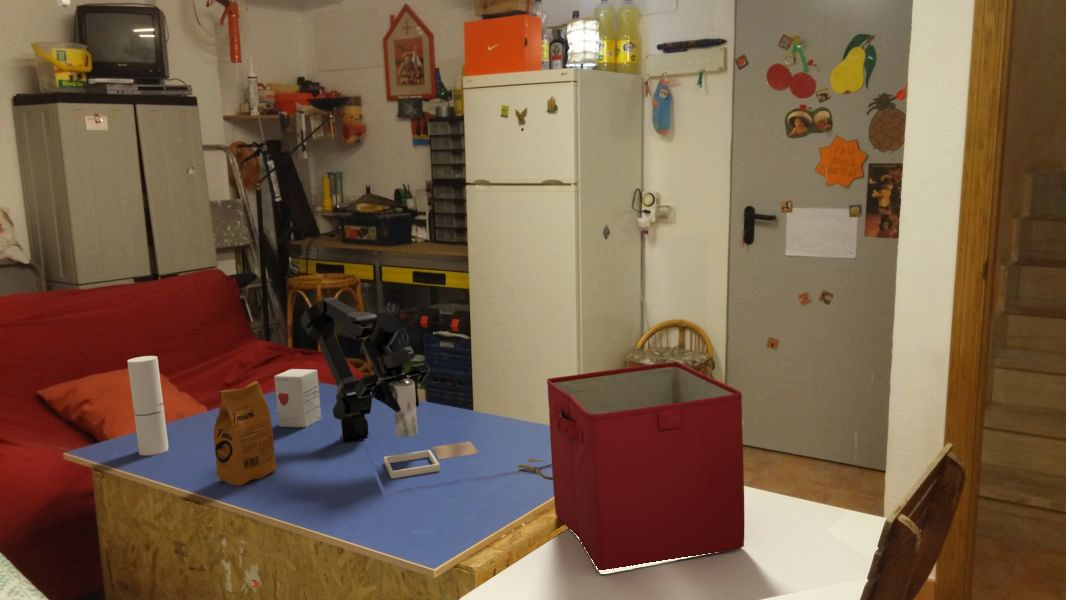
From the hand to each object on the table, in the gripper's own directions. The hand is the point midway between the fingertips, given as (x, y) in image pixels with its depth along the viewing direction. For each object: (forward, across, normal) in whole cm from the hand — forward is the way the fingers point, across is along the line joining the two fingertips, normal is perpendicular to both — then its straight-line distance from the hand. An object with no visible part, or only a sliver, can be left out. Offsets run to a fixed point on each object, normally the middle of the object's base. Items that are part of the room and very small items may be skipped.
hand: (408, 408), depth 199 cm
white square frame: (+13, -4, +5) cm, 15 cm away
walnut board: (+12, +10, +6) cm, 17 cm away
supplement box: (-27, -3, +48) cm, 55 cm away
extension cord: (+32, +19, -13) cm, 39 cm away
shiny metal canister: (+4, 0, +6) cm, 7 cm away
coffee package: (-6, -32, +25) cm, 41 cm away
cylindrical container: (-32, -41, +54) cm, 75 cm away
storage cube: (+57, +7, -40) cm, 70 cm away
